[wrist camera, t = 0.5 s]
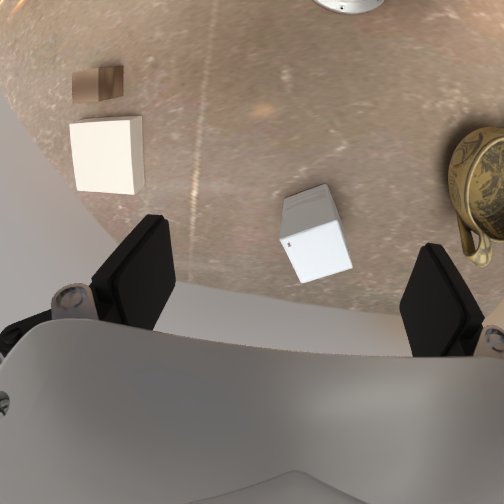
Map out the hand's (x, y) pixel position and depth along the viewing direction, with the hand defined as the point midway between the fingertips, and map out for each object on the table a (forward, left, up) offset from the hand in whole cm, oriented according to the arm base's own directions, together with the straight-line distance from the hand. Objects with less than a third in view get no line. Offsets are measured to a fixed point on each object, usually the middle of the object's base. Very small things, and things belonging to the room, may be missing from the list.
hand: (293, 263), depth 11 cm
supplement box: (+14, +4, -35) cm, 38 cm away
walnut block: (-5, -30, -35) cm, 46 cm away
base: (+7, -30, -35) cm, 46 cm away
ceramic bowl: (+1, +30, -35) cm, 46 cm away
